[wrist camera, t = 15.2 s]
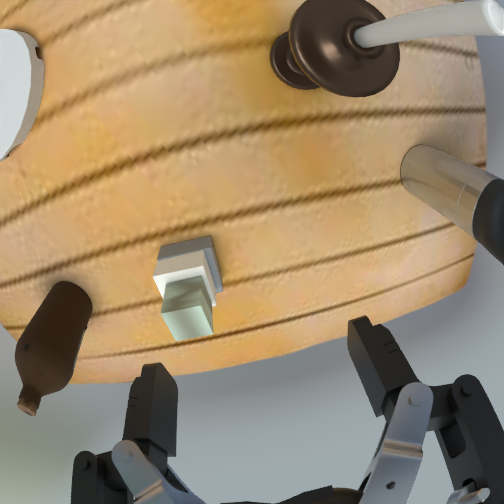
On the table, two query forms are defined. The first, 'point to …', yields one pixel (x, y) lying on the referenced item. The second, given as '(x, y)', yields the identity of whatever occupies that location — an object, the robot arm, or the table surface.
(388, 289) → the table surface
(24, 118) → the ashtray
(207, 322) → the sage block
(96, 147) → the table surface
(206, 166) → the table surface
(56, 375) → the olive oil
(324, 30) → the candlestick
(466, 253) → the table surface
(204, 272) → the cream top block
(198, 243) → the slate base block
